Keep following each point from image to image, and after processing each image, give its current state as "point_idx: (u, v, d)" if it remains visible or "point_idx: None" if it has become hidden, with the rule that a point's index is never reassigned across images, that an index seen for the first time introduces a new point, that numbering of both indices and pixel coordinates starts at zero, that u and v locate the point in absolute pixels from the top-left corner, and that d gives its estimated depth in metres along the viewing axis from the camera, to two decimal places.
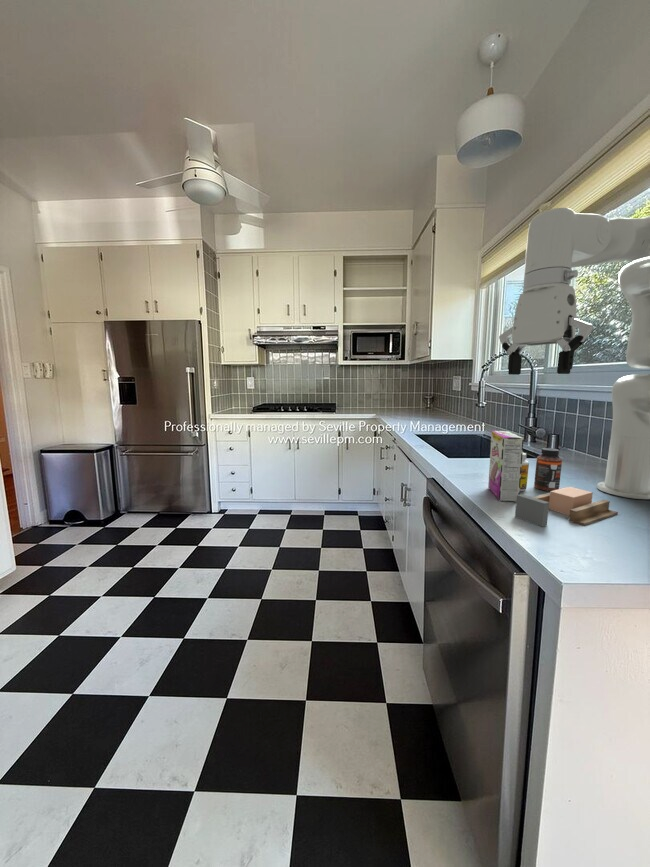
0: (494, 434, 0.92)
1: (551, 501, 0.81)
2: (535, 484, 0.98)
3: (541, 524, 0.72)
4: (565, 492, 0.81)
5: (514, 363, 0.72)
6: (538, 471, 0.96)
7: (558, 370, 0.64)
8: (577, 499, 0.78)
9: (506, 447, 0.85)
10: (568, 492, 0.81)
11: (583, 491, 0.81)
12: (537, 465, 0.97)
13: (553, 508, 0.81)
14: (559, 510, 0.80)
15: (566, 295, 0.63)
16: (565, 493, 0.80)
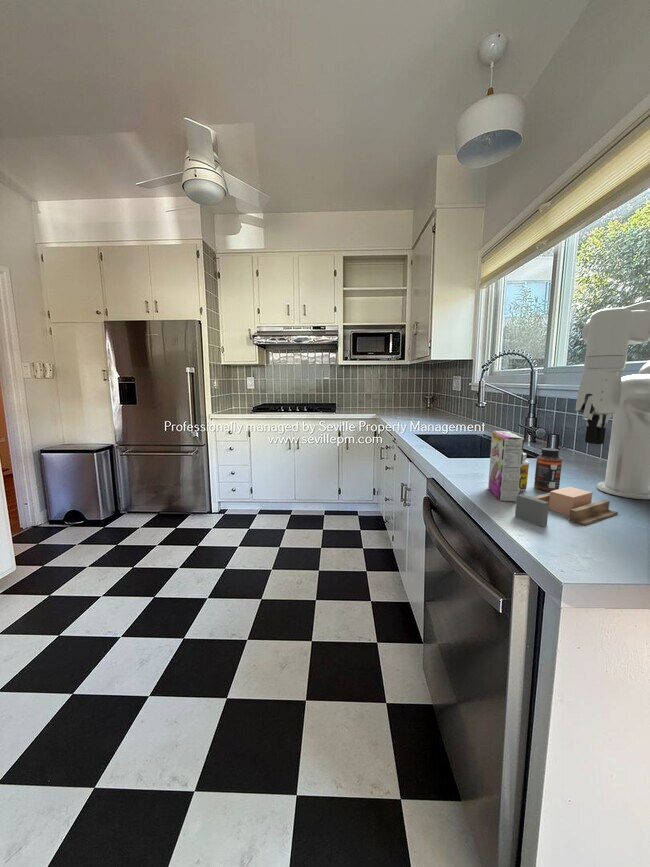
0: (494, 434, 0.92)
1: (551, 501, 0.81)
2: (535, 484, 0.98)
3: (541, 524, 0.72)
4: (565, 492, 0.81)
5: None
6: (538, 471, 0.96)
7: (602, 441, 0.82)
8: (577, 499, 0.78)
9: (506, 447, 0.85)
10: (568, 492, 0.81)
11: (583, 491, 0.81)
12: (537, 465, 0.97)
13: (553, 508, 0.81)
14: (559, 510, 0.80)
15: None
16: (565, 493, 0.80)
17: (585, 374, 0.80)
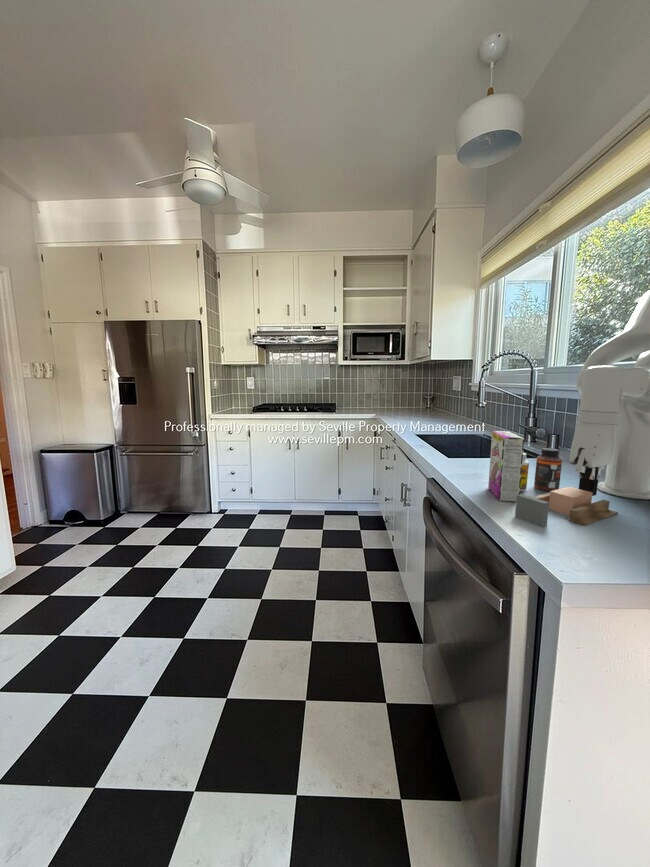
0: (495, 434, 0.92)
1: (551, 501, 0.81)
2: (535, 484, 0.98)
3: (541, 524, 0.72)
4: (565, 492, 0.81)
5: None
6: (538, 471, 0.96)
7: (595, 493, 0.83)
8: (577, 499, 0.78)
9: (506, 447, 0.85)
10: (568, 492, 0.81)
11: (583, 491, 0.81)
12: (537, 465, 0.97)
13: (553, 508, 0.81)
14: (559, 510, 0.80)
15: None
16: (565, 493, 0.80)
17: (578, 428, 0.82)
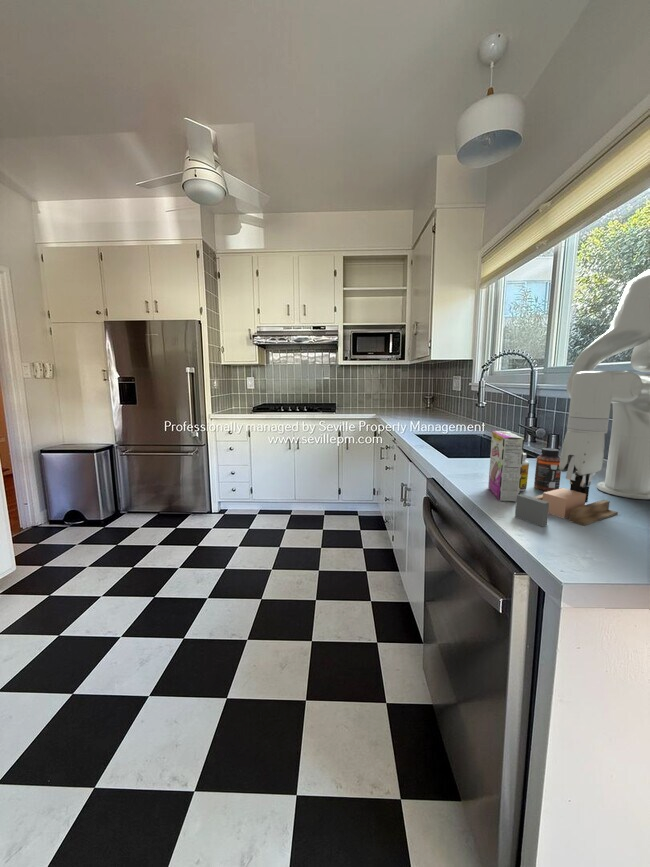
0: (494, 434, 0.92)
1: None
2: (535, 484, 0.98)
3: (541, 524, 0.72)
4: (558, 494, 0.79)
5: None
6: (538, 471, 0.96)
7: (586, 500, 0.82)
8: (570, 501, 0.77)
9: (506, 447, 0.85)
10: (561, 494, 0.79)
11: (576, 493, 0.80)
12: (537, 465, 0.97)
13: None
14: (552, 512, 0.79)
15: None
16: (558, 495, 0.79)
17: (568, 435, 0.80)
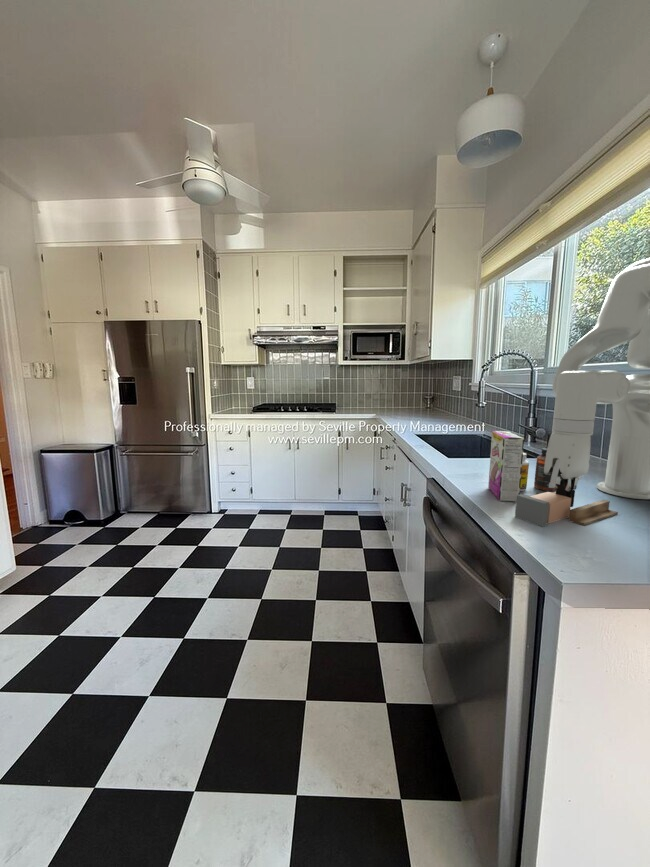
0: (494, 434, 0.92)
1: None
2: (535, 484, 0.98)
3: (541, 524, 0.72)
4: (542, 498, 0.77)
5: None
6: (538, 471, 0.96)
7: (572, 505, 0.79)
8: (554, 505, 0.74)
9: (506, 447, 0.85)
10: (545, 498, 0.77)
11: (561, 497, 0.77)
12: (537, 465, 0.97)
13: None
14: None
15: None
16: (542, 499, 0.76)
17: (552, 437, 0.77)
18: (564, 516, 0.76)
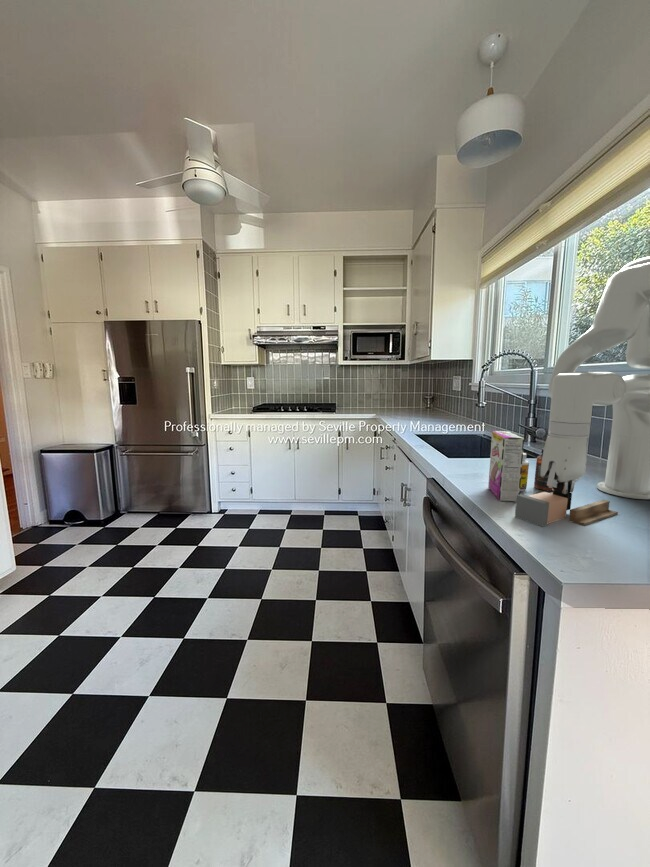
0: (494, 434, 0.92)
1: None
2: (535, 484, 0.98)
3: (541, 524, 0.72)
4: (538, 498, 0.76)
5: None
6: (538, 471, 0.96)
7: (569, 507, 0.79)
8: (550, 506, 0.73)
9: (506, 447, 0.85)
10: (542, 498, 0.76)
11: (558, 497, 0.77)
12: (537, 465, 0.97)
13: None
14: None
15: None
16: None
17: (548, 440, 0.77)
18: (560, 516, 0.76)
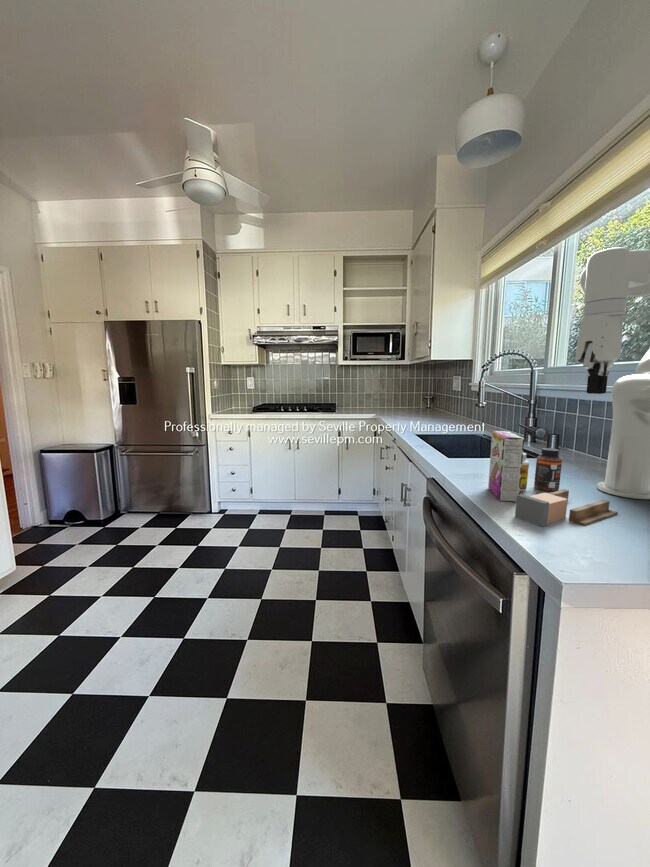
0: (495, 434, 0.92)
1: None
2: (535, 484, 0.98)
3: (541, 524, 0.72)
4: None
5: None
6: (538, 471, 0.96)
7: (605, 390, 0.79)
8: (550, 506, 0.73)
9: (506, 447, 0.85)
10: (541, 499, 0.76)
11: (558, 498, 0.77)
12: (537, 465, 0.97)
13: None
14: None
15: None
16: None
17: (584, 321, 0.77)
18: (560, 517, 0.76)
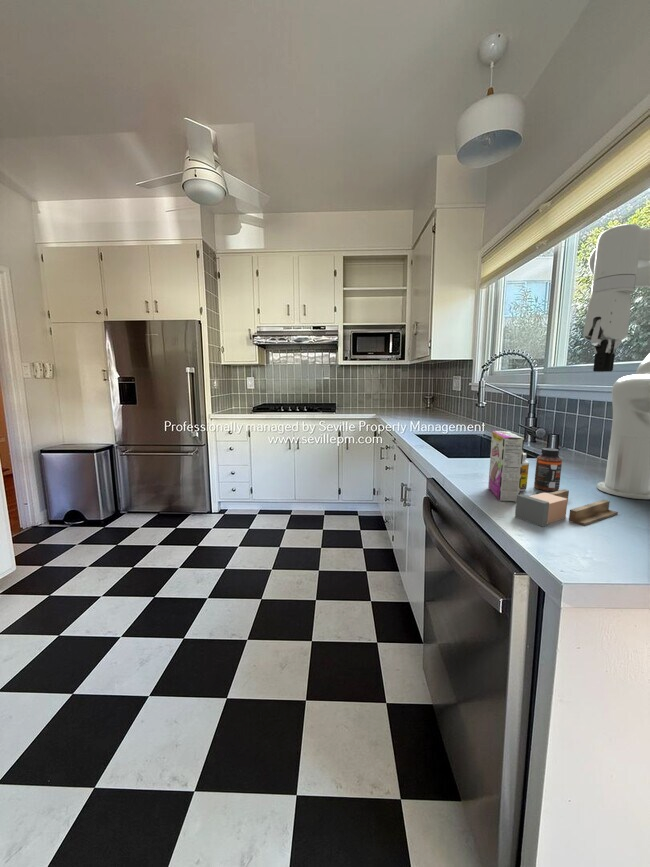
0: (494, 434, 0.92)
1: None
2: (535, 484, 0.98)
3: (541, 524, 0.72)
4: None
5: None
6: (538, 471, 0.96)
7: (611, 368, 0.79)
8: (550, 506, 0.73)
9: (506, 447, 0.85)
10: (541, 499, 0.76)
11: (558, 497, 0.77)
12: (537, 465, 0.97)
13: None
14: None
15: None
16: None
17: (593, 297, 0.77)
18: (560, 517, 0.76)
